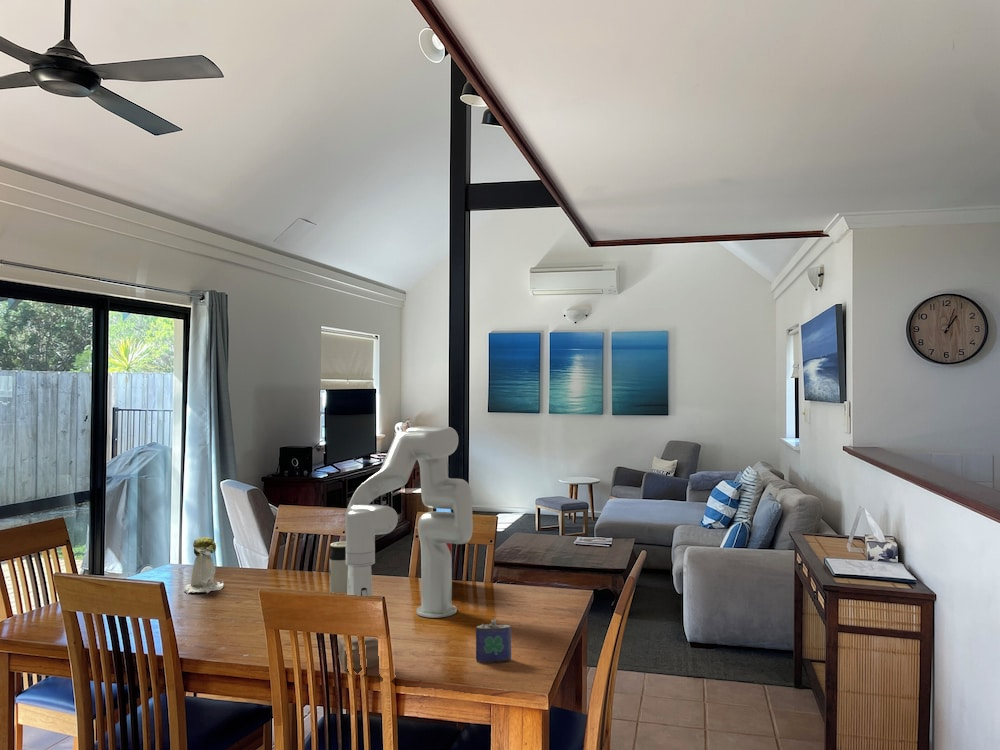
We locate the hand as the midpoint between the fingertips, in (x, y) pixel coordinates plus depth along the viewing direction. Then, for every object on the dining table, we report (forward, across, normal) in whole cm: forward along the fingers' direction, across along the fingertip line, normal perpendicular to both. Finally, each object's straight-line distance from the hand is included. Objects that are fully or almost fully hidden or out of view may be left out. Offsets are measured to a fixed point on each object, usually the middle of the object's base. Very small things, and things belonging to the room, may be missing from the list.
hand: (360, 626), depth 193 cm
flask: (+9, +13, +32) cm, 36 cm away
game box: (+9, -58, +40) cm, 71 cm away
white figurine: (+9, -91, -39) cm, 100 cm away
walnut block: (+9, 0, 0) cm, 9 cm away
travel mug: (+9, -63, +5) cm, 64 cm away
